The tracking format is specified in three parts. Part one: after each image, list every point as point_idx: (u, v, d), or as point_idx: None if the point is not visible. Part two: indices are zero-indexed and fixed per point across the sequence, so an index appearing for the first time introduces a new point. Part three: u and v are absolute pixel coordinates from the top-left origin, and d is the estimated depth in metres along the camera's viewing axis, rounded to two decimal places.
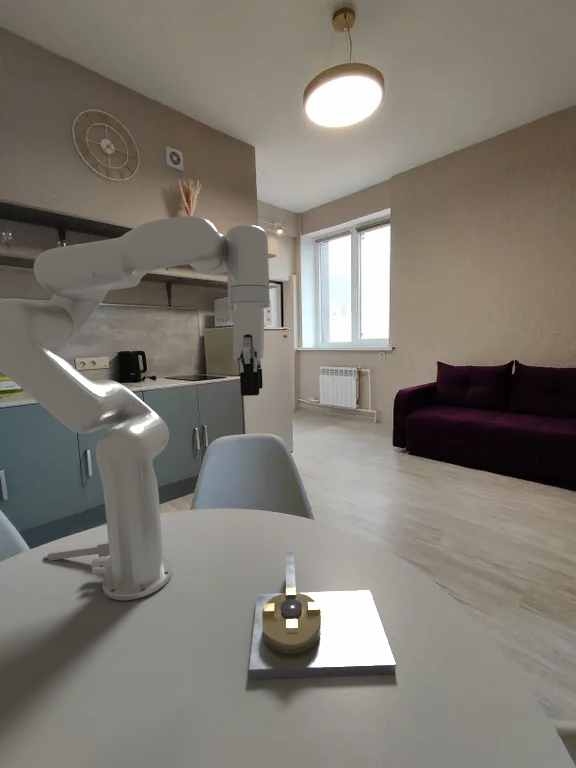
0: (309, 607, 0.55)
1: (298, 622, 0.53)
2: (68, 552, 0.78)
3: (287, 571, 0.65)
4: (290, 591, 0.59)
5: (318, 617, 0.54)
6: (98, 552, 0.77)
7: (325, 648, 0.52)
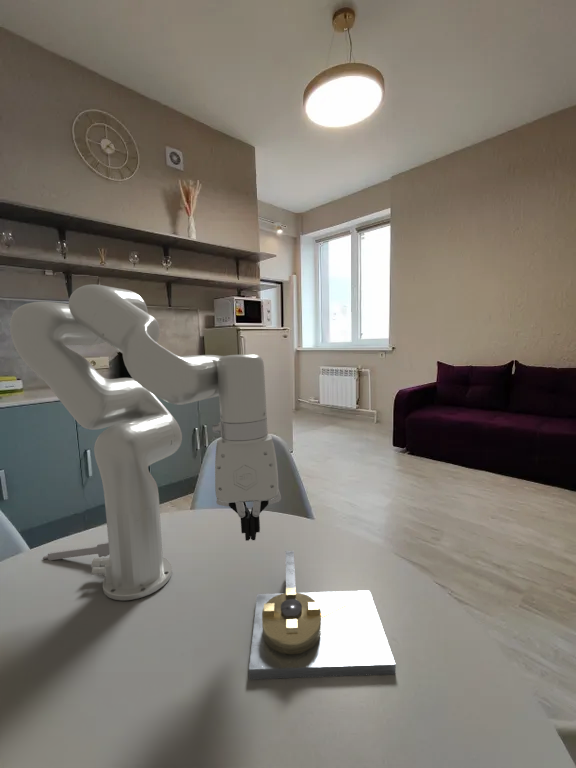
0: (309, 607, 0.55)
1: (298, 622, 0.53)
2: (68, 552, 0.78)
3: (287, 571, 0.65)
4: (290, 591, 0.59)
5: (318, 617, 0.54)
6: (98, 552, 0.77)
7: (325, 648, 0.52)
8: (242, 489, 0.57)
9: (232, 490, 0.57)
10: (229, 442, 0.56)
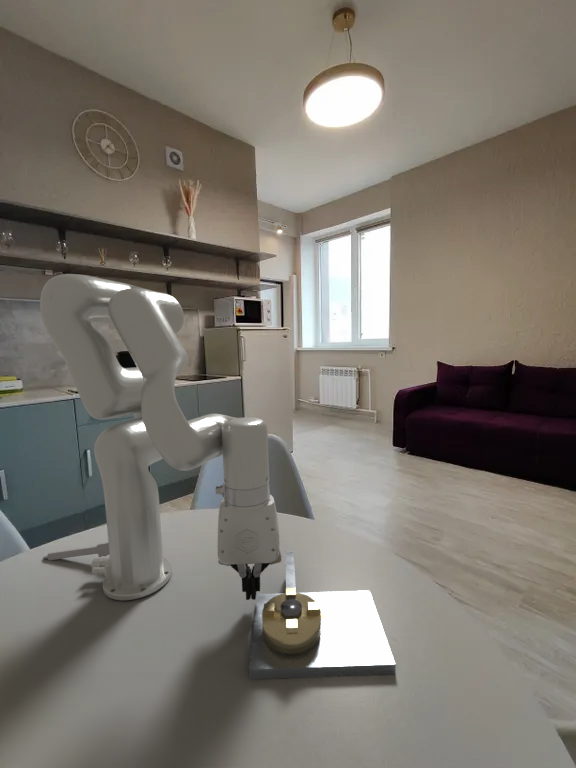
0: (309, 607, 0.55)
1: (298, 622, 0.53)
2: (68, 552, 0.78)
3: (287, 571, 0.65)
4: (290, 591, 0.59)
5: (318, 617, 0.54)
6: (98, 552, 0.77)
7: (325, 648, 0.52)
8: (244, 552, 0.59)
9: (234, 553, 0.59)
10: (232, 507, 0.58)
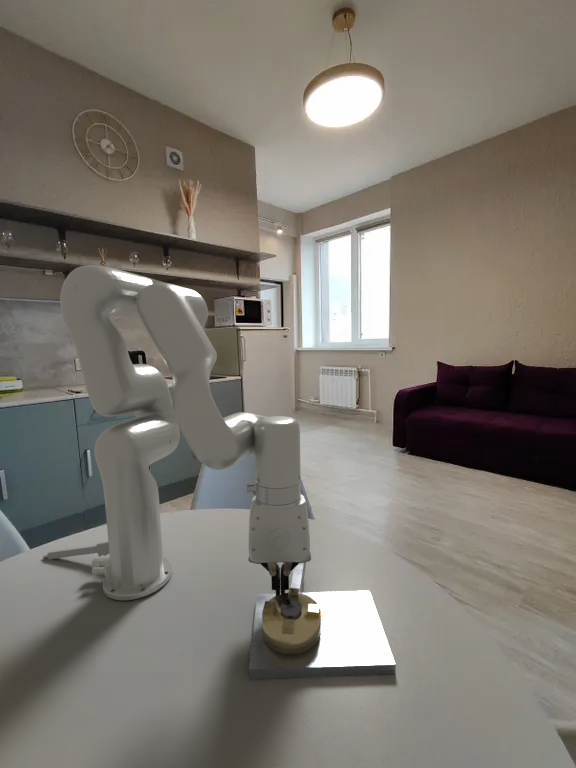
0: (309, 609, 0.55)
1: (296, 623, 0.53)
2: (67, 551, 0.78)
3: (295, 571, 0.65)
4: (293, 591, 0.59)
5: (317, 620, 0.54)
6: (97, 551, 0.77)
7: (325, 648, 0.52)
8: (275, 551, 0.59)
9: (265, 551, 0.59)
10: (264, 506, 0.58)
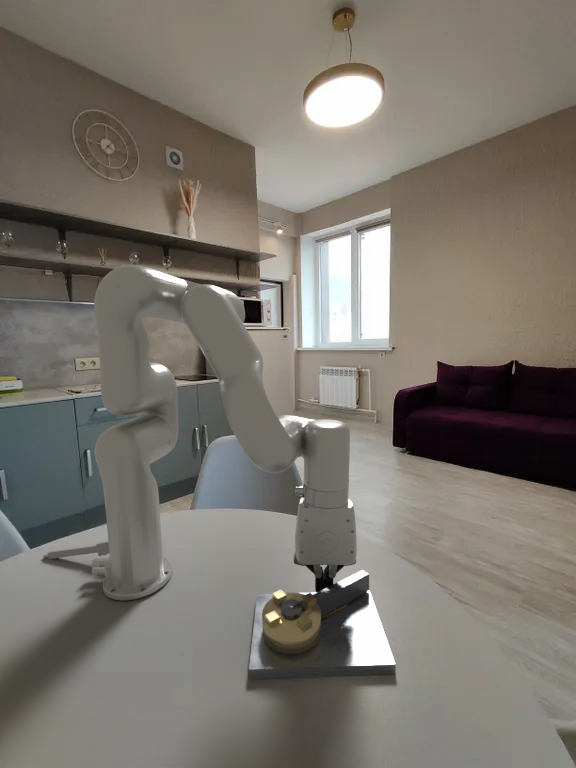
0: (299, 618, 0.53)
1: (283, 622, 0.53)
2: (67, 551, 0.78)
3: (336, 584, 0.61)
4: (308, 597, 0.57)
5: (300, 633, 0.51)
6: (97, 551, 0.77)
7: (325, 648, 0.52)
8: (323, 553, 0.59)
9: (313, 554, 0.59)
10: (314, 508, 0.58)
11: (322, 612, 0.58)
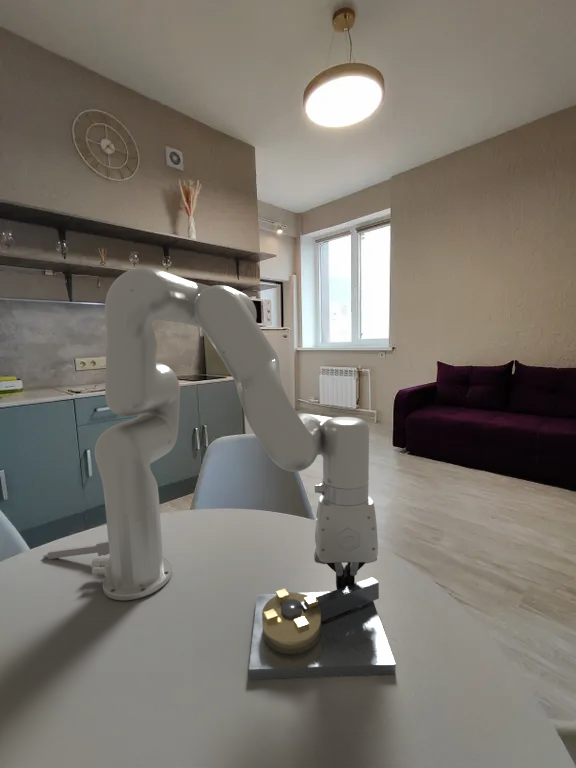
0: (297, 619, 0.53)
1: (281, 621, 0.54)
2: (67, 551, 0.78)
3: (342, 589, 0.60)
4: (310, 599, 0.57)
5: (296, 634, 0.51)
6: (97, 551, 0.77)
7: (325, 648, 0.52)
8: (344, 551, 0.59)
9: (334, 551, 0.59)
10: (335, 506, 0.58)
11: (324, 616, 0.57)
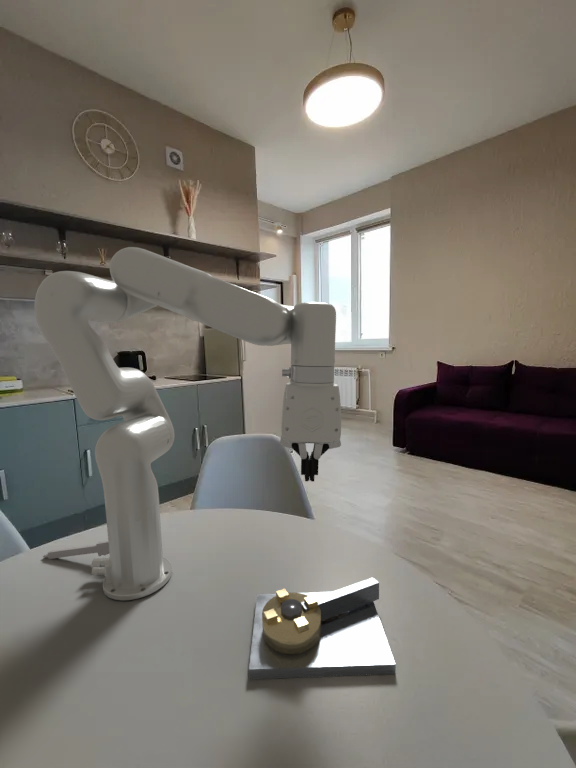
0: (297, 619, 0.53)
1: (281, 621, 0.54)
2: (67, 551, 0.78)
3: (342, 589, 0.60)
4: (310, 599, 0.57)
5: (295, 634, 0.51)
6: (97, 551, 0.77)
7: (325, 648, 0.52)
8: (308, 430, 0.60)
9: (298, 431, 0.61)
10: (300, 384, 0.59)
11: (324, 616, 0.57)
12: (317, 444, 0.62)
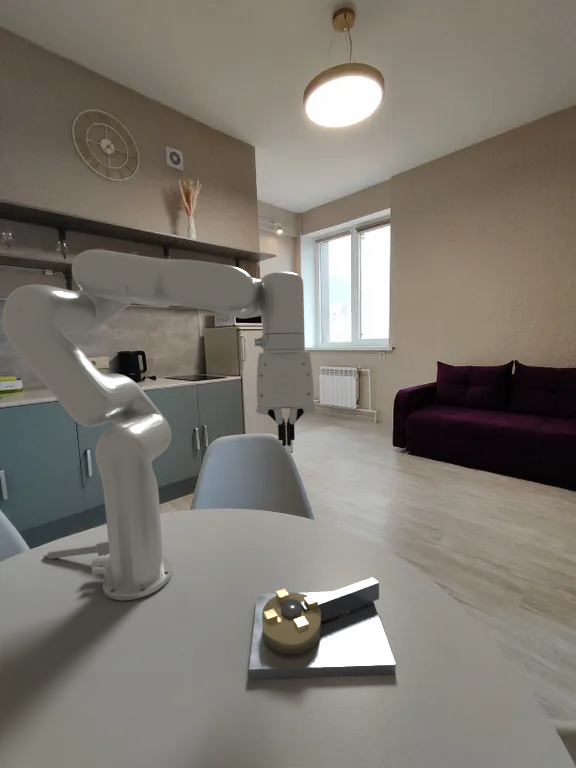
0: (297, 619, 0.53)
1: (281, 621, 0.54)
2: (67, 551, 0.78)
3: (342, 589, 0.60)
4: (310, 599, 0.57)
5: (295, 634, 0.51)
6: (97, 551, 0.77)
7: (325, 648, 0.52)
8: (282, 396, 0.63)
9: (272, 396, 0.63)
10: (271, 351, 0.62)
11: (324, 616, 0.57)
12: (292, 409, 0.65)
